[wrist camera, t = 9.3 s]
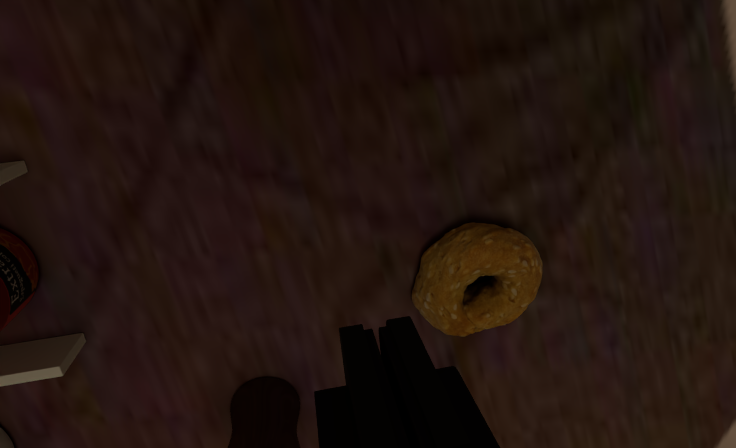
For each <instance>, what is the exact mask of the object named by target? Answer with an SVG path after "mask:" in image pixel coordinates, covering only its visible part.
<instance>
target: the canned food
mask: <svg viewBox="0 0 736 448" xmlns="http://www.w3.org/2000/svg"><path fill="white" fill-rule="evenodd" d="M38 277H39V270H38V265H37V261H36V259H35V257H34V255H33V253H32V252H31V250H30V249H29V248H28V246H27V245H26V244H25V243H24V242H23V241H22V240H20V239H19V238H18V237H16V236H15V235H13V234H12V233H10V232H8V231H6V230H4V229H1V228H0V331H1V330H2V329H3V328H4V327H5V326H6V325H7V324H8V323H9V322H10V321H11V320H12V319H13V318H14V317H15V316H16V315H17V314H18V313H19V312H20V311H21V310H22V309H23V308H24V307H25V306H26V305H27V304H28V303H29V301H30V300H31V298H32V297H33V295H34V293H35V290H36V286H37V282H38Z"/></svg>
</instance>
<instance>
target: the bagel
mask: <svg viewBox="0 0 736 448" xmlns="http://www.w3.org/2000/svg"><path fill="white" fill-rule="evenodd" d="M485 275H488V276H492V278H491V280H489V281H487V282H481V283H478V284H476V285H474V286H468V285H469V284H471V283H473V282H474V281H475V280H476V279H477V278H478V277H480V276H485ZM541 278H542V261H541V258H540V255H539V252H537V249H536V248H535V246H534V245H533V243H532V242H531V240H530V239H529V238H528V237H527V236H524V235H523V234H521V233H520V232H518V231H516V230H514V229H511V228H503V227H500V226H498V225H495V224H485V223H475V222H473V223H466V224H464V225H462V226H460V227H458V228H455V229H453V230H451V231H450V232H448V233H446V234H445V235H444V236H443V237H442V238H441V239H440V240H438V241H437V242H436V243H434V244H433V245H432V246H431V247H429V248H428V249H427V250H426V251H425V252H424V254H423V255H422V257H421V264H420V269H419V273H418V274H417V276H416V280H415V285H414V288H413V290H412V301H413V303H414V305H415V307H416V308H417V309H418V310H419V311H420V313H421V315H422V316H423V317H424V318H425V319H426V320H427V321H428V322H430V324H431V325H432V326H433V327H435V328H437V329H439V330H441V331H442V332H443V333H445V334H447V335H455V336H456V335H458V336H467V335H469V334H472V333H475V332H480V331H482V330H484V329H490V328H493V327H496V326H500V325H505V324H508V323H510V322H512V321H513V320H515V319H516V318H517V317H519V316H520V315H521V314H522V313H523V311H524V310H526V309H527V306H528V305H529V303H531V302H532V301H533V300H534V298H535V297H536V294H537V291H538V288H539V285H540V282H541Z"/></svg>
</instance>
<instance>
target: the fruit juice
mask: <svg viewBox="0 0 736 448" xmlns="http://www.w3.org/2000/svg"><path fill="white" fill-rule="evenodd" d="M0 448H14V445H13V443H12V441H11V439H10V437H9V436H8V435H7V433H6V432H5V431H4V430H3V429H2V428H1V427H0Z"/></svg>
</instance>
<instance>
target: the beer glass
mask: <svg viewBox="0 0 736 448" xmlns="http://www.w3.org/2000/svg"><path fill="white" fill-rule="evenodd" d="M299 413H300V398H299V395H298V393H297V391H296V390H295V388H294V387H293V386H292V385H291V384H289V383H288V382H286V381H284V380H281V379H278V378H273V377H262V378H257V379H254V380H251V381H249V382H247V383H245V384H244V385H242V386H241V387H240V388H239V389H238V390H237V391H236V393H235V394H234V396H233V398H232V401H231V405H230V416H231V424H232V434H231V439H230V442H229V445H228V448H300V444H299V441H298V437H297V422H298V418H299Z"/></svg>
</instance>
